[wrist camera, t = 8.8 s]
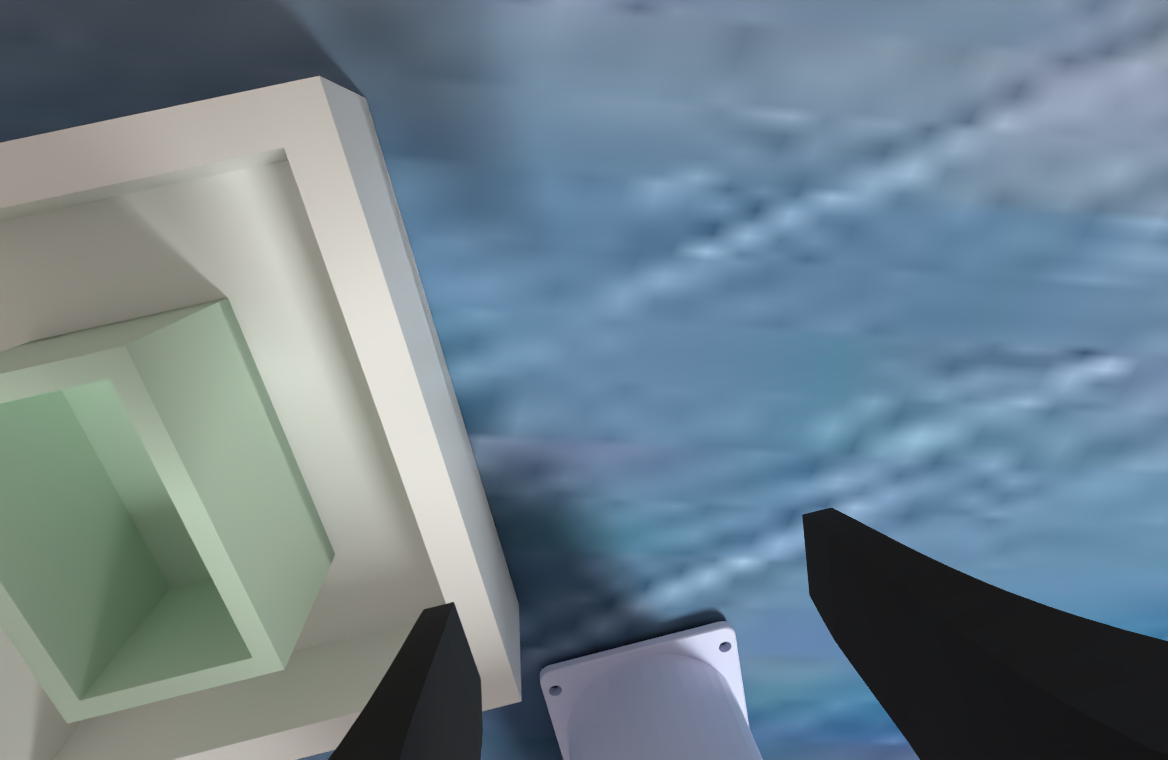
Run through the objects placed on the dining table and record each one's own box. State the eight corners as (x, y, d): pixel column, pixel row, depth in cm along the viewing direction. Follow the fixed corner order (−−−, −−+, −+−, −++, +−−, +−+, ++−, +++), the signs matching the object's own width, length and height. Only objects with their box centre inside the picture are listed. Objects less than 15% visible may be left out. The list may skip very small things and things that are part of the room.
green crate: (335, 554, 20) (284, 669, 16) (168, 594, 20) (67, 723, 16) (228, 297, 17) (124, 345, 13) (29, 341, 17) (-151, 407, 12)
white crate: (518, 604, 23) (521, 701, 19) (98, 709, 23) (4, 834, 18) (365, 97, 17) (319, 75, 13) (-223, 222, 16) (-476, 242, 12)
